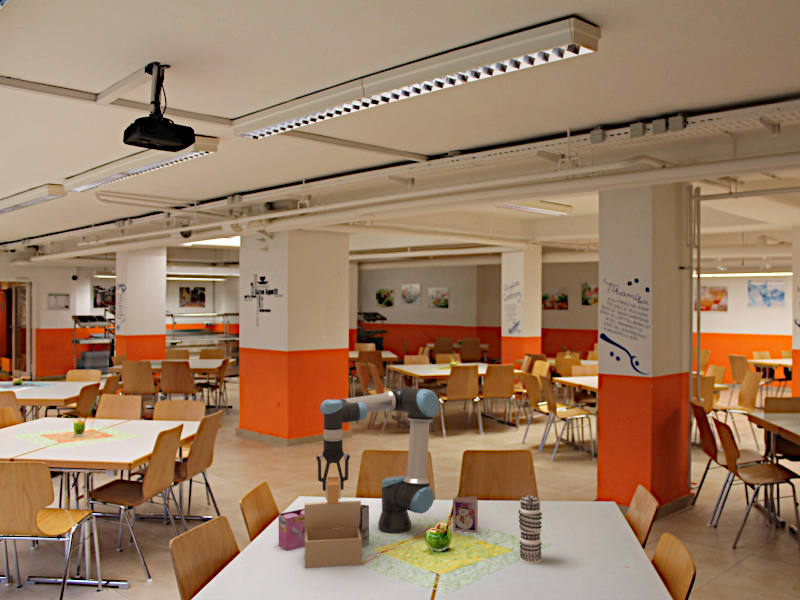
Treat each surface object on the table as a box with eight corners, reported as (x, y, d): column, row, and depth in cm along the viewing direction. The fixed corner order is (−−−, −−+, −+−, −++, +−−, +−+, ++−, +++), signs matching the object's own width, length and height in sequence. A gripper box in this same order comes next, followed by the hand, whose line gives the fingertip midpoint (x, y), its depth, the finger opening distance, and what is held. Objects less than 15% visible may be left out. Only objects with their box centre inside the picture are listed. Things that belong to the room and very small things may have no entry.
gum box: (326, 534, 285) (326, 503, 285) (335, 538, 279) (335, 507, 279) (277, 545, 270) (278, 513, 271) (286, 551, 264) (286, 518, 264)
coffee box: (369, 543, 273) (369, 505, 274) (362, 548, 267) (362, 509, 268) (351, 540, 277) (351, 502, 277) (343, 544, 271) (343, 506, 272)
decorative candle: (528, 566, 247) (528, 501, 248) (514, 558, 256) (513, 495, 256) (547, 561, 252) (546, 498, 252) (532, 554, 260) (531, 492, 261)
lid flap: (359, 527, 264) (358, 519, 267) (362, 483, 251) (361, 475, 254) (304, 529, 260) (304, 521, 264) (304, 485, 247) (304, 478, 251)
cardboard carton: (358, 551, 263) (358, 527, 263) (361, 564, 249) (361, 538, 250) (304, 554, 260) (304, 529, 260) (305, 567, 246) (305, 541, 246)
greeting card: (452, 531, 287) (452, 498, 288) (457, 526, 294) (457, 494, 295) (477, 534, 283) (477, 501, 284) (481, 529, 290) (481, 496, 290)
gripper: (354, 436, 258) (354, 494, 258) (310, 438, 256) (310, 496, 255) (355, 440, 251) (355, 500, 250) (311, 441, 248) (311, 502, 248)
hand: (333, 498), depth 253 cm, fingers closed on lid flap, 4 cm apart
